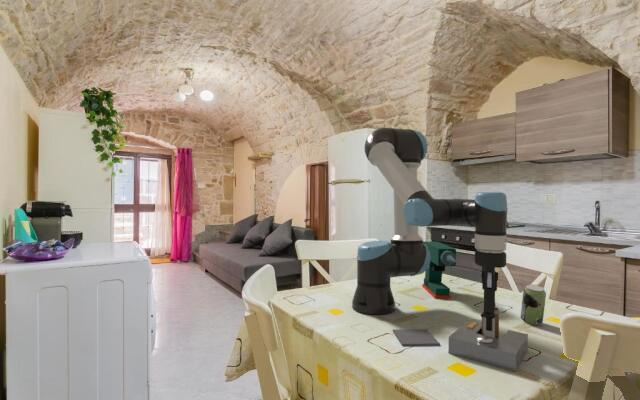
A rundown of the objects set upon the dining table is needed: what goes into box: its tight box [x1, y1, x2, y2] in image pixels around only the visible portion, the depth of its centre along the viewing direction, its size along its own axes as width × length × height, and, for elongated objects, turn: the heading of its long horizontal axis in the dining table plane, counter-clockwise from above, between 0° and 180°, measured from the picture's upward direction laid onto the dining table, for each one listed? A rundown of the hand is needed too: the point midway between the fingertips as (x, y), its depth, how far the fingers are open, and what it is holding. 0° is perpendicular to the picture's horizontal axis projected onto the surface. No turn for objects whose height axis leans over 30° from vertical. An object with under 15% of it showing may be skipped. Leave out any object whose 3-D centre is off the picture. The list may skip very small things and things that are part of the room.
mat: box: [392, 328, 441, 347], centre depth 98 cm, size 10×10×1 cm
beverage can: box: [520, 283, 547, 326], centre depth 110 cm, size 6×7×12 cm
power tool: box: [421, 241, 457, 300], centre depth 140 cm, size 32×7×20 cm, turn 179°
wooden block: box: [481, 307, 500, 339], centre depth 93 cm, size 4×4×8 cm
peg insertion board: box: [448, 320, 529, 373], centre depth 89 cm, size 15×15×5 cm
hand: (489, 338), depth 93 cm, fingers closed on wooden block, 4 cm apart
